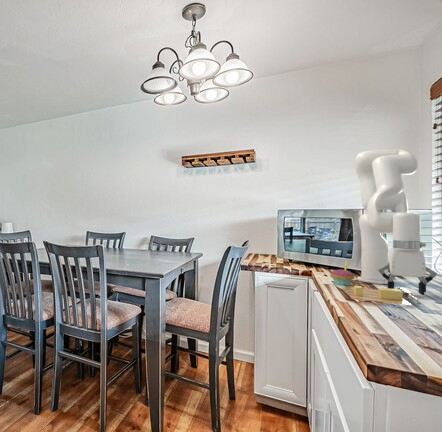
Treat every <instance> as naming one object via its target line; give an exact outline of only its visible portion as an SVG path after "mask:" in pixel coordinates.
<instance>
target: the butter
mask: <svg viewBox="0 0 442 432" xmlns="http://www.w3.org/2000/svg"><path fill="white" fill-rule="evenodd" d="M377 290H378V296H379V297H380V298H385V299H395V300H403V298H404V296H403V292H402V291H401V290H400V289H397V288H394V289H390V288H388V287H377Z"/></svg>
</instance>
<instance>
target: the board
mask: <svg viewBox="0 0 442 432" xmlns="http://www.w3.org/2000/svg"><path fill="white" fill-rule="evenodd" d="M343 288H344V289H345V291H346V293H347V294H348V295H349V296H350V298H351V300H360V301H367V302H368V301H369V302H378V303H388V304H396V305H397V304H398V305H406V306H412V303H410V302H409V301H408V300H407V299H405V298H404V297H403V300H395V299H385V298H380V297H379V296H378V288H377V289H376V288H375V289H374V288H365V287H362V288H363V296H356V295H355V294H354V286H343Z"/></svg>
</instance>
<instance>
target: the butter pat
mask: <svg viewBox="0 0 442 432" xmlns="http://www.w3.org/2000/svg"><path fill="white" fill-rule="evenodd" d="M353 287H354V294H355V295H356V296H363V288H364V287H362V286H361V285H353Z"/></svg>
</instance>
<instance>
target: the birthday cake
mask: <svg viewBox="0 0 442 432" xmlns="http://www.w3.org/2000/svg"><path fill="white" fill-rule="evenodd" d="M348 264H349V258H347V259H346V260H345V265H344V269H343V268H341V269H336V270H335V269H334V270H332V271H331V272H330V273H329V277H330V278H332V279H333V282H334V284H335V285H339V286H340V285H341V286H350V285H351V283H352V281H353V280H354V279H355V274H354V272H351V270H347V268H348Z"/></svg>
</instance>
